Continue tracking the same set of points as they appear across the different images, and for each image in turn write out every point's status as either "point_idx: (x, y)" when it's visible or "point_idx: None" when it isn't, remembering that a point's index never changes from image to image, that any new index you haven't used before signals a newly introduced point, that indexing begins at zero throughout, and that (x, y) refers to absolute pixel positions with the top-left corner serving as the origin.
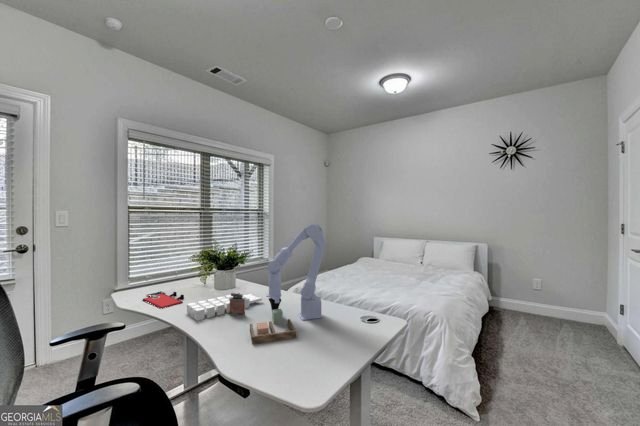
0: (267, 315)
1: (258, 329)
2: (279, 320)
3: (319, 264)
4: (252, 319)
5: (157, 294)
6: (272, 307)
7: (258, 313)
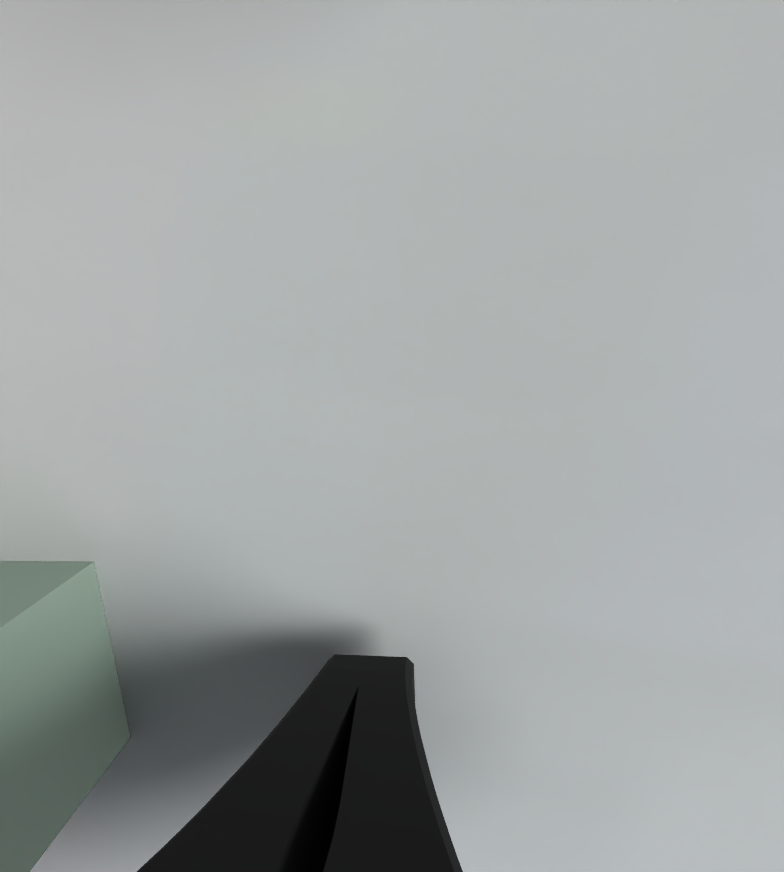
0: (460, 498)
1: None
2: None
3: None
4: (252, 17)
5: None
6: (183, 855)
7: (743, 243)
